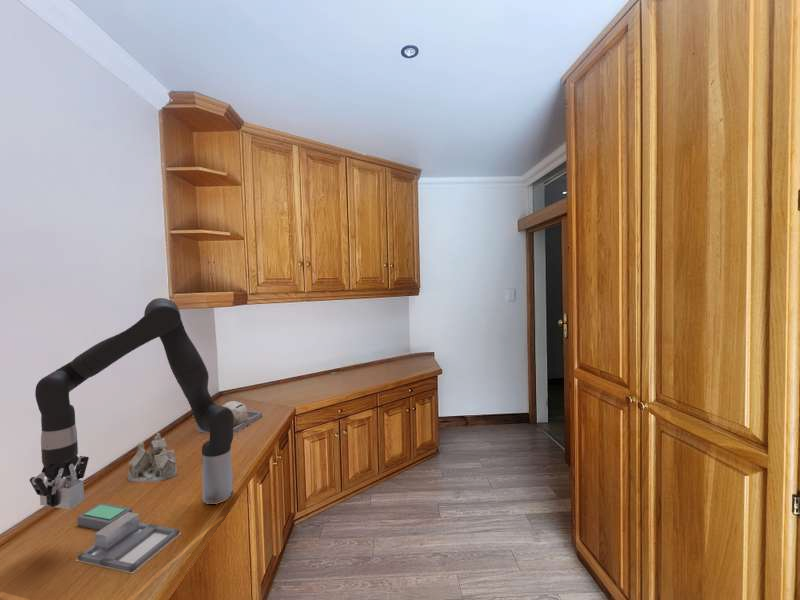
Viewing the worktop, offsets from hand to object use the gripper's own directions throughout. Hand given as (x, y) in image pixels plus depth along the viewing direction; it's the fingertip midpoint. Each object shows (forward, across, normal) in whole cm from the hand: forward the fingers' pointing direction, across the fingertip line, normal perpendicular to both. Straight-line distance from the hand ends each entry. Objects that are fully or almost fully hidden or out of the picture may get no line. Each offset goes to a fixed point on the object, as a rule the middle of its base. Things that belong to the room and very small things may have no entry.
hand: (62, 500), depth 106 cm
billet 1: (+1, 0, 0) cm, 1 cm away
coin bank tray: (+15, +93, +16) cm, 95 cm away
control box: (+15, +12, 0) cm, 19 cm away
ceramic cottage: (+16, +40, +12) cm, 45 cm away
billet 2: (+14, +5, -13) cm, 20 cm away
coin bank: (+16, +92, +16) cm, 95 cm away
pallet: (+15, +5, -18) cm, 24 cm away
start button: (+12, +12, 0) cm, 17 cm away
